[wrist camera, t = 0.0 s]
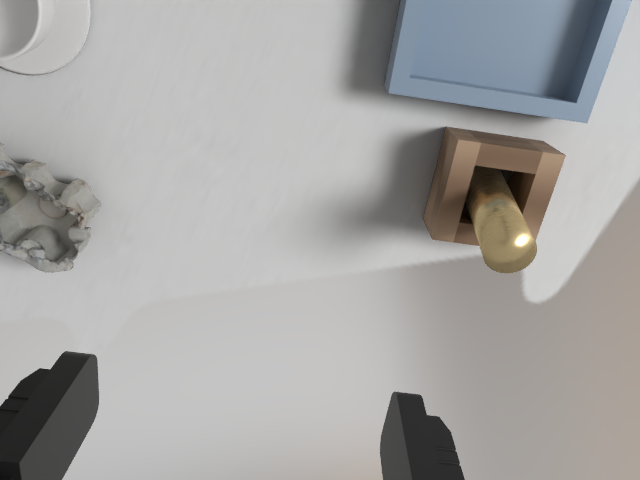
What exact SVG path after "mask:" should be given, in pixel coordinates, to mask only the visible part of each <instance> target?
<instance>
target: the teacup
mask: <svg viewBox="0 0 640 480" xmlns="http://www.w3.org/2000/svg"><path fill="white" fill-rule="evenodd" d="M90 16H91V11H90V0H0V67H2V68H4V69H6V70H9V71H12V72H16V73H20V74H26V75H41V74H47V73H51V72H54V71H57V70H59V69H61V68H63V67H64V66H66V65H67V64H69V63H70V62H71V61H72V60H73V59H74V58H75V57H76V56H77V55H78V53H79V52H80V50H81V49H82V47H83V45H84V43H85V41H86V38H87V35H88V31H89V27H90Z"/></svg>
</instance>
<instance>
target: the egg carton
mask: <svg viewBox="0 0 640 480" xmlns="http://www.w3.org/2000/svg"><path fill="white" fill-rule="evenodd" d="M100 206H101V202H100V201H99V200H98V199H96V198H95V197H94V196H93V194H92V192H91V189H90V186H89V184H88V183H87V182H85V181H84V180H81V179H75V180H74V181H72V182H71V183H70V184H64V183H60V182H58V181H56V180H55V179H54V178H53V176H52V175H51V174H50V172H49V170H48V167H47V164H45V163H41V162H39V161H36V160H32V161H31V162H29V163H26V164H24V165H22V164H18V163H15V162H14V161H12V160H11V159H10V158H9V157H8V156H7V155H6V153H5V149H4V145H3V144H1V143H0V250H1V251H3V252H5V253H7V254H9V255H12V256H15V257H18V258H20V259H22V260H24V261H26V262H27V263H29V264H30V265H32V266H33V267H35V268H36V269H38V270H41V271H44V272H60V271H67V270H71V269H72V268H73V265H74V264H73V262H72V261H73V260H74V259H75V258H76V257H77V255H78V254H79V253H80V252H81V251H82V250H83V248H84V247H85V246H86V245H87V243H88V241H89V239H90V237H91V234H90V233H89V231H90V229H91V227H85V226H86V223H87V222H88V221H89V220H90V219H91V218H92V217H93V216H94V215H95V214H96V213H97V212H98V210H99V208H100Z"/></svg>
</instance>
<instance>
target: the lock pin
mask: <svg viewBox="0 0 640 480" xmlns="http://www.w3.org/2000/svg"><path fill="white" fill-rule="evenodd" d="M465 200H466V203H467V206H468V210H469V213H470V216H471V219H472V223H473V226H474V229H475V232H476V236H477V239H478V242H479V245H480V249H481V252H482V255H483V258H484V261H485V263H486V264H487V266H488V267H489V268H491V269H492V270H494V271H497V272H500V273H513V272H517V271H520V270H522V269H524V268H526V267H527V266H528V265H529V264H530V263H531V262H532V261H533V260H534V258H535V256H536V252H537V245H536V242H535V240H534V238H533V236H532V234H531V232H530V230H529V228H528V226H527V224H526V222H525V220H524V218H523V216H522V213H521V211H520V209H519V207H518V205H517V203H516V201H515V199H514V197H513V195H512V193H511V191H510V189H509V187H508V185H507V182H506V180H505V178H504V176H503V174H502V172H501V171H500V169H497V168H490V167H483V166H476V165H475V167H474V170H473V174H472V178H471V181H470V185H469V188H468V192H467V195H466V199H465Z"/></svg>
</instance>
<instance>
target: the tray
mask: <svg viewBox="0 0 640 480" xmlns="http://www.w3.org/2000/svg"><path fill="white" fill-rule="evenodd" d="M631 1H632V0H400V5H399V10H398V15H397V20H396V26H395V31H394V36H393V41H392V47H391V52H390V57H389V62H388V68H387V73H386V78H385V83H384V88H385V89H386V90H387V92H388V93H390V94H397V95H403V96H410V97H417V98H423V99H430V100H437V101H443V102H450V103H456V104H463V105H470V106H476V107H483V108H490V109H496V110H503V111H509V112H516V113H523V114H529V115H536V116H542V117H549V118H556V119H562V120H569V121H576V122H582V123H587V122H588V119H589V117H590V114H591V111H592V108H593V106H594V103H595V100H596V97H597V95H598V92H599V89H600V86H601V84H602V81H603V78H604V75H605V73H606V70H607V67H608V64H609V62H610V59H611V56H612V53H613V51H614V48H615V45H616V42H617V40H618V37H619V34H620V31H621V29H622V26H623V23H624V20H625V17H626V15H627V12H628V9H629V6H630V4H631Z"/></svg>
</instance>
